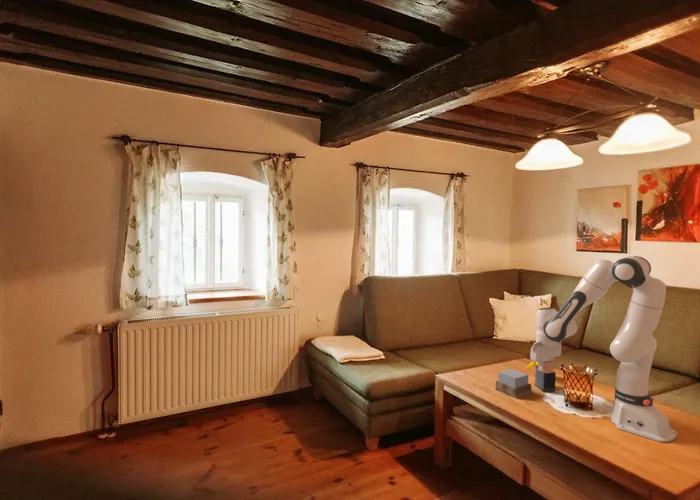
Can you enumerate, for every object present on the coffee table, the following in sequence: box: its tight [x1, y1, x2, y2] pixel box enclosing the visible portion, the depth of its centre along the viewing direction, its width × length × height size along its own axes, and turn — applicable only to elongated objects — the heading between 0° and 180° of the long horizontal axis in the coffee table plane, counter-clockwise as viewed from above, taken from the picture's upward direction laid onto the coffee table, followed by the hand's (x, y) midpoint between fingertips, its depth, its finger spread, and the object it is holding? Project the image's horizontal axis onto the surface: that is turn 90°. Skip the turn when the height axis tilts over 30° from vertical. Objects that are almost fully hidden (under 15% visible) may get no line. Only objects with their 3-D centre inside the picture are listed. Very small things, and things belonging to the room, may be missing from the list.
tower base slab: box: [495, 380, 532, 399], centre depth 206 cm, size 12×12×5 cm
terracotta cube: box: [538, 360, 555, 374], centre depth 199 cm, size 5×5×5 cm
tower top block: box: [497, 368, 529, 388], centre depth 206 cm, size 10×10×5 cm
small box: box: [534, 365, 557, 393], centre depth 210 cm, size 11×6×10 cm, turn 179°
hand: (545, 367), depth 199 cm, fingers closed on terracotta cube, 5 cm apart
